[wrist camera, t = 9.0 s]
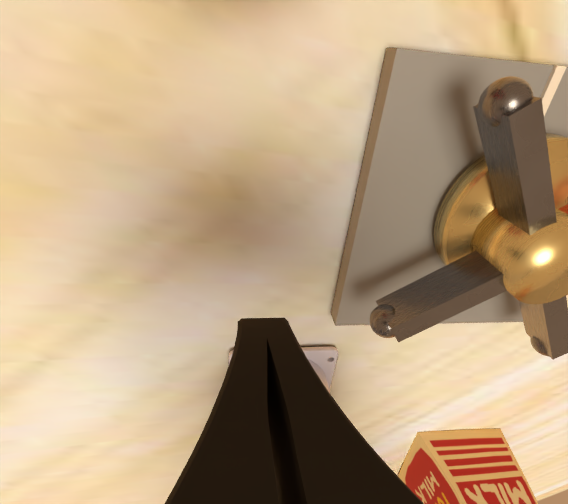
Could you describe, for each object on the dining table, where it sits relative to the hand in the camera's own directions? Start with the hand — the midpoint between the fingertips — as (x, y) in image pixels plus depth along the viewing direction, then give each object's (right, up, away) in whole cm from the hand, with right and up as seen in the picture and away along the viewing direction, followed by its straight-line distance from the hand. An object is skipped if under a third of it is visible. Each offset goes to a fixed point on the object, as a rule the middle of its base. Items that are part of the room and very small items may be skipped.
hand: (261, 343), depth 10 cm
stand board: (+13, +5, +11) cm, 17 cm away
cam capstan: (+13, +4, +10) cm, 17 cm away
